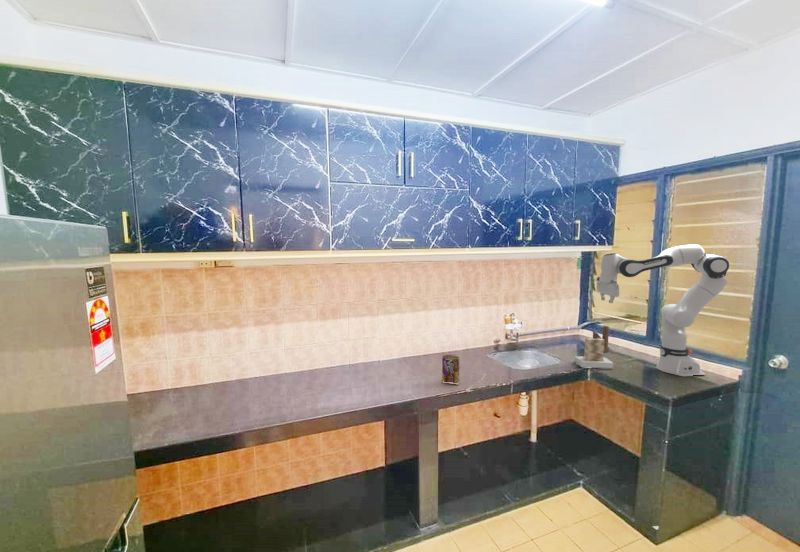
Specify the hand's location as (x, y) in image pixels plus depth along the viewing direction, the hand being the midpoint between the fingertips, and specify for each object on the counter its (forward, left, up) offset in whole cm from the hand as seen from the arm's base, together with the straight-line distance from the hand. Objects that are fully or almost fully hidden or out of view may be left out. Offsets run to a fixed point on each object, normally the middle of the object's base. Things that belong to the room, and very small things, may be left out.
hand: (606, 301), depth 207 cm
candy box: (+98, +40, -39) cm, 113 cm away
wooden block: (-8, -20, -39) cm, 45 cm away
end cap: (+9, +7, -39) cm, 41 cm away
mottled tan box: (+9, +7, -38) cm, 40 cm away
